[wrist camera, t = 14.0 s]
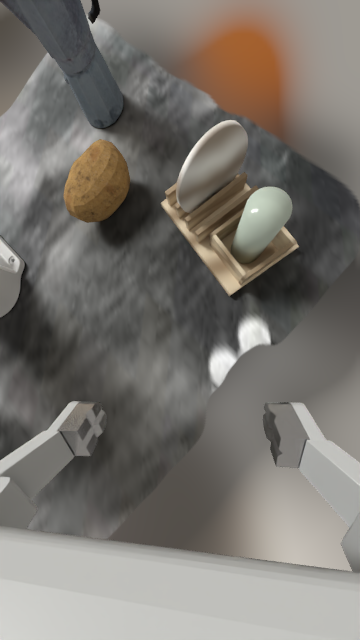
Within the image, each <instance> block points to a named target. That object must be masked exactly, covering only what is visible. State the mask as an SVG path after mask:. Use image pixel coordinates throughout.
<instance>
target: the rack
mask: <svg viewBox="0 0 360 640" xmlns="http://www.w3.org/2000/svg"><path fill="white" fill-rule="evenodd" d="M247 146H248V137H247V133H246V131H245V130H244V128H243V127H242V126H241V125H240V124H239V123H238V122H236V121H234V120H228V121H224V122H221V123H219V124H217V125H216V126H214V127H213V128H211V129H210V130H209V131H208V132H207V133H206V134H205V135H204V136H203V137H202V138H201V139H200V140H199V141H198V142H197V144H196V145H195V146H194V148H193V149H192V151H191V152H190V154H189V155H188V157H187V159H186V161H185V163H184V165H183V167H182V169H181V172H180V174H179V178H178V182H177V183H176V184H174V185H173V186H172V187H171V188H169V189H168V190H167V191H166V192H165V194H166V197H167V199H165V200H164V201H163V202H162V203H161V205H162V207H163V209H164V210H165V211H166V213H167V214H168V215H169V217H170V218H171V219H172V221H173V222H174V223H175V225H176V226H177V227H178V229H179V230H180V231H181V233H182V234H183V235H184V237H185V238H186V239H187V241H188V242H189V243H190V245H191V246H192V247H193V249H194V250H195V251H196V253H197V254H198V255H199V257H200V258H201V259H202V261H203V262H204V263H205V264H206V266H207V267H208V268H209V270H210V271H211V272H212V274H213V275H214V276H215V278H216V279H217V280H218V282H219V283H220V284H221V286H222V287H223V288H224V290H225V291H226V292H227V294H228V295H229V296H230V295H232V294H233V293H235V292H236V291H237V290H239V289H240V288H242V287H243V286H245V285H246V284H247V283H249V282H250V281H252V280H253V279H254V278H256V277H257V276H259V275H260V274H261V273H263V272H264V271H266V270H267V269H269V268H270V267H271V266H273V265H274V264H276V263H277V262H278V261H280V260H281V259H283V258H284V257H285V256H287V255H288V254H290V253H291V252H293V251H294V250H295V249H297V248H298V247H299V246H298V245H297V241H296V240H295V239H294V238H293V237H292V235H291V234H290V233H289V232H288V231H287V229H286V228H285V227H284V226H283V227H282V228H281V230H280V231H279V232H278V233H277V235H276V236H275V237H274V238H273V240H272V241H271V242H270V243H269V245H268V246H267V247H266V248H265V250H264V251H263V252H262V253H261V255H260V256H259V257H258V258H257V259H256V260H255V261H254V262H252V263H248V264H243V263H239V262H237V261H236V260H235V259H234V257H233V256H232V254H231V245H232V242H233V240H234V237H235V234H236V231H237V228H238V225H239V222H240V220H241V217H242V214H243V211H244V208H245V205H246V203H247V200H248V199H249V197H250V196H251V195H252V194H253V193H254V192H255V191H257V190H259V188H258V187H257V186H254V187H253V188H252V189H250V187H249V186H248V185H247V184H246V183H245V182H246V179H247V174H246V173H245V172H244V173H242V174H241V175H240V176H239V174H238V172H239V170H240V168H241V166H242V163H243V161H244V158H245V155H246V151H247Z"/></svg>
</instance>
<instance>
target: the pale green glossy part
mask: <svg viewBox="0 0 360 640" xmlns="http://www.w3.org/2000/svg"><path fill="white" fill-rule="evenodd" d="M291 213H292V201H291V199H290V197H289V196H288V194H287V193H286V192H285V191H283V190H281V189H279V188H276V187H264V188H261V189H259V190H257V191H255V192H254V193H253V194H252V195H251V196H250V197H249V199H248V200H247V203H246V205H245V208H244V211H243V214H242V217H241V220H240V222H239V225H238V228H237V231H236V234H235V237H234V240H233V242H232V245H231V254H232V256H233V257H234V259H235V260H236V261H237V262H239V263H243V264H248V263H252V262H254V261H255V260H256V259H257V258H258V257H259V256H260V255H261V253H262V252H263V251H264V250H265V248H266V247H267V246H268V245H269V243H270V242H271V241H272V240H273V238H274V237H275V236H276V235H277V233H278V232H279V231H280V230H281V228H282V227H283V226H284V225H285V224H286V222H287V221H288V220H289V218H290V216H291Z"/></svg>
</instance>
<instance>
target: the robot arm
mask: <svg viewBox="0 0 360 640" xmlns="http://www.w3.org/2000/svg"><path fill="white" fill-rule="evenodd" d="M24 266H25V263H24V261H23V260H22V259H21V258H20V257H19V256H18V254H17V253H16V252H15V251H14V250H13V249H12V248H11V247H10V246H9V245H8V244H7V243H6V242H5V241H4V240H3V238H2V237H1V236H0V317H2V316H4V315H5V314H7V313H8V312H9V311H10V310H11V309H12V308H13V306H14V305H15V303H16V301H17V299H18V296H19V292H20V281H21V275H22V272H23V270H24ZM102 407H103V406H102V404H101V402H87V401H72V402H70V403H69V404H68V405H67V406H66V408H65V409H64V410H63V411H62V413H61V414H60V415H59V416H58V418H57V419H56V420H55V421H54V423H53V424H52V425H51V426H50V427H49V429H48V430H47V431H43V432H42V433H40V434H39V435H37V436H36V437H34V438H33V439H31V440H30V441H28V442H27V443H25V444H24V445H22V446H21V447H19V448H18V449H16V450H15V451H14V452H12V453H11V454H9V455H8V456H6V457H5V458H3V459H2V460H0V640H360V463H359V462H358V461H357V460H355V459H354V458H353V457H352V456H350V455H349V454H348V453H346V452H345V451H344V450H342V449H341V448H340V447H338V446H337V445H336V444H334V443H333V442H332V441H328V440H326V439H325V437H324V436H323V434H322V432H321V431H320V429H319V427H318V426H317V424H316V423H315V421H314V419H313V418H312V416H311V415H310V413H309V411H308V410H307V408H306V406H305V405H304V404H303V403H288V402H287V403H286V402H282V403H281V402H280V403H279V402H278V403H277V402H272V403H265V405H264V410H265V412H266V413H265V414H264V415H263V425H264V430H265V434H266V437H267V439H268V440H269V441H270V442H271V447H270V450H271V453H272V456H273V459H274V461H275V465H276V466H279V467H290V468H299V470H300V471H301V473H302V474H303V475H304V476H305V477H306V478H307V480H308V481H309V482H310V483H311V484H312V485H313V486H314V488H315V489H316V490H317V491H318V492H319V493H320V494H321V496H322V497H323V498H324V499H325V500H326V501H327V502H328V504H329V505H330V506H331V507H332V508H333V509H334V510H335V511H336V513H337V514H338V515H339V516H340V517H341V518H342V519H343V521H344V522H345V523H346V524H347V525H348V526H349V530H348V531H347V533H346V535H345V536H344V538H343V540H342V542H341V546H342V548H343V551H344V553H345V555H346V558H347V560H348V562H349V564H350V567H351V569H352V571H353V572H351V571H344V570H337V569H328V568H321V567H314V566H306V565H298V564H290V563H282V562H275V561H267V560H260V559H252V558H244V557H236V556H229V555H221V554H213V553H206V552H198V551H190V550H182V549H175V548H167V547H159V546H152V545H143V544H137V543H128V542H121V541H113V540H106V539H98V538H91V537H83V536H75V535H67V534H60V533H52V532H44V531H37V530H29V529H27V527H28V526H29V524H30V522H31V520H32V519H33V517H34V515H35V514H36V512H37V506H36V505H35V504H34V503H33V502H32V501H31V500H32V499H33V498H34V497H35V496H36V495H37V494H38V493H39V492H40V491H41V490H42V489H43V488H44V487H45V486H46V485H47V484H48V483H49V482H50V481H51V480H52V479H53V478H54V477H55V476H56V475H57V474H58V473H59V472H60V471H61V470H62V469H63V468H64V467H65V466H66V465H67V464H68V463H69V462H70V461H71V460H72V459H73V458H74V456H91V454H92V453H93V451H94V449H95V447H96V445H97V443H98V436H99V435H100V434H101V433H103V431H104V429H105V427H106V422H107V416H106V413H105V412H104V411H103V410H101V409H102Z"/></svg>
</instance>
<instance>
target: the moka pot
mask: <svg viewBox="0 0 360 640" xmlns="http://www.w3.org/2000/svg"><path fill="white" fill-rule="evenodd" d="M0 2H2V3H3V4H4V5H5V6H6V7H7V8H8V9H9V10H10V11H11V12H12V13H13V14H14V15H15V16H16V17H17V18H18V19H19V20H20V21H22V22H23V24H25V25H26V26H27V27H28V28H29V29H30V30H31V31H32V32H33V33H34V34H35V35H36V36H37V37H38V39H39V40H40V42H41V43H42V44H43V46H44V47H45V49H46V50H47V51H48V53H49V54H50V56H51V57H52V58H54V59H55V60H56V62H57V64H58V65H59V67H60V68H61V69H62V71H63V73H64V79H65V81H66V82H67V83H68V84H69V85H70V87H71V89H72V90H73V92H74V94H75V96H76V98H77V100H78V102H79V104H80V106H81V108H82V110H83V112H84V114H85V116H86V118H87V120H88V121H89V123H90V124H91V125H92V126H94V127H97V128H105V127H108V126H110V125H111V124H113V123H114V122H115V121H116V120H117V118H118V117H119V115H120V114H121V112H122V109H123V95H122V93H121V91H120V89H119V87H118V85H117V84H116V82H115V80H114V78H113V76H112V74H111V72H110V70H109V68H108V66H107V64H106V62H105V60H104V59H103V57H102V55H101V53H100V51H99V49H98V48H97V46H96V44H95V42H94V39H93V36H92V34H91V31H90V28H89V24H88V21H87V18H86V15H85V12H84V9H83V7H82V4H81V1H80V0H0ZM99 13H100V8H99V3H98V0H92V8H91V11H90V12H89V13H88V18H89V20H90V21H91V22H92V24H93V23H94V22H95V20H96V18H97V16H98V15H99Z"/></svg>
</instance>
